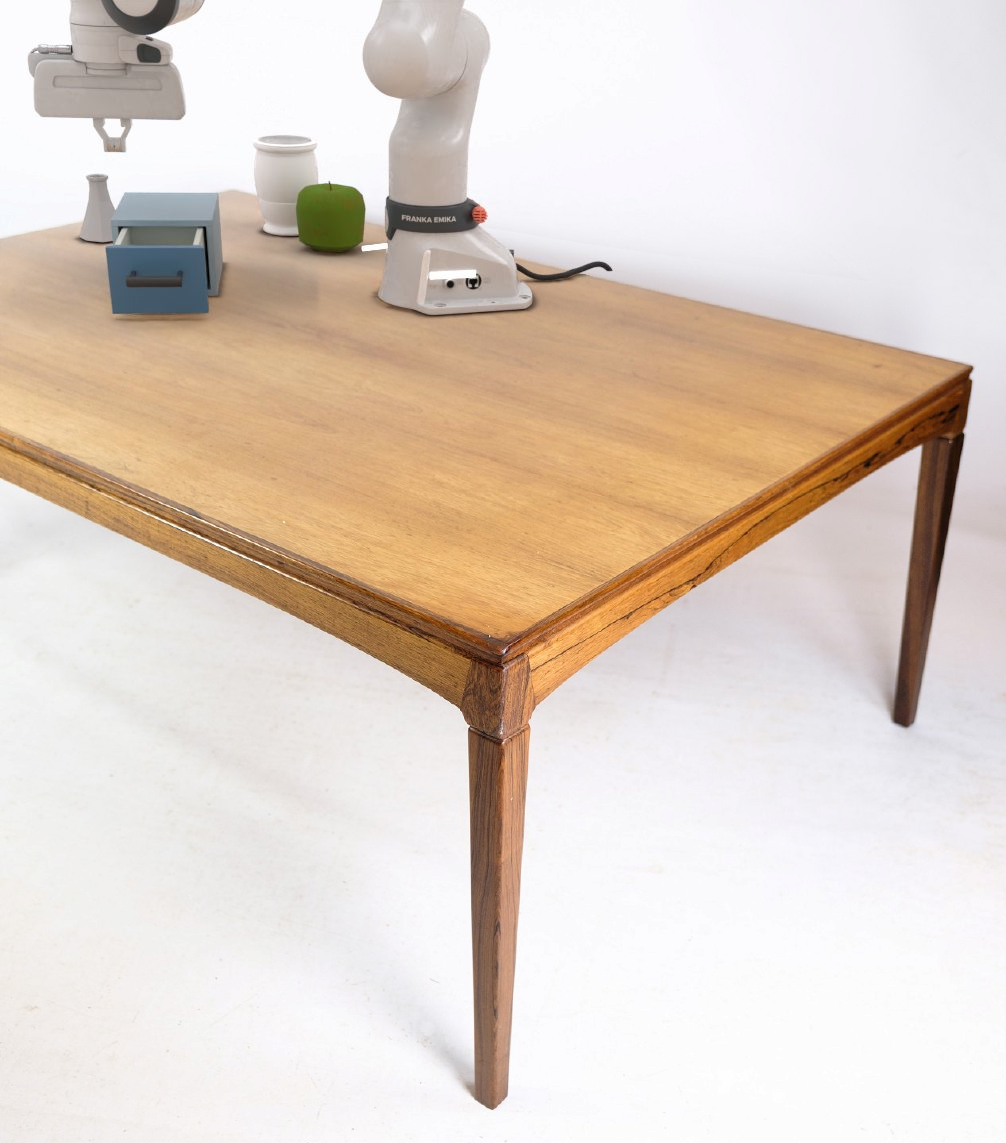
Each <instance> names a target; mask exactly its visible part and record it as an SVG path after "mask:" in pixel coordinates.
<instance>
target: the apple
mask: <svg viewBox="0 0 1006 1143" xmlns="http://www.w3.org/2000/svg"><path fill="white" fill-rule="evenodd" d="M366 210H367V208H366V202H365V200H364V195H363V194H362V192H361V191H360V190H359V189H357V188H356V187H354V186H350V185H346V184H345V185H344V184H339V183H331V181H330V180H328V182H324V183H318V184H315V185H309V186H305V187H304V188H303V189H302V190H301V191H300V192H299V193H298V199H297V204H296V216H297V226H298V234H299V235H298V240H299V242H300V243H302V244H304V245H305V246H307V247H309V248H311V249H313V250H314V251H319V252H325V253H326V252H328V253H341V252H346V251H350V250H352V249H354V248H355V247H357V246H358V245H360V244H362V243H363V242H364V235H365V233H364V232H365V224H366Z"/></svg>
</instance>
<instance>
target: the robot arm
mask: <svg viewBox="0 0 1006 1143" xmlns="http://www.w3.org/2000/svg"><path fill="white" fill-rule="evenodd" d="M465 1H466V0H381V4H380V8H379V11H378V14H377V17H376V19H375V22H374V24H373V26H372V27H371V29H370V31H369V32H368V34H367V35H366V37H365V39H364V43H363V47H362V56H361V57H362V65H363V68H364V72H365V75H366V76H367V78H368V80H369V82H370V83H371V84H372V86H373V87H374V88H375V89H376V90H378V92H380V93H381V94H383V95H385V96H388V97H391V98H395V99H398V100H400V106H399V110H398V114H397V118H396V121H395V124H394V126H393V128H392V131H391V133H390V135H389V139H388V195H387V196H386V197H385V206H384V231H385V232H384V233H385V236H386V238H387V241H386V243H378V244H377V243H376V244H370V245H369V244H368V245H362V246H361V251H362V252H366V251H376V250H383V249H386V253H385V261H384V267H383V273H382V277H381V281H380V286H379V290H378V292H377V297H378V298H379V299H380V300H382V301H383V302H385V303H387V304H389V305H391V306H395V307H399V308H406V309H410V310H414V311H417V312H420V313H422V314H425V315H431V316H437V315H438V316H439V315H453V314H469V313H482V312H484V313H485V312H496V311H511V310H523V309H525V310H526V309H527V308H529V307H530V306H531V305H532V304H533V300H534V299H533V292H532V290H531V287H529V286H528V285H527V283H525V282H524V281H522V280H520V279H519V276H518V275H519V274H518V272H520V273H521V274H523V275H524V276H526V277H528V278H530V279H532V280H536V281H542V282H543V281H547V282H548V281H555V280H561V279H567V278H569V277H572V276H574V275H577V274H582V273H584V272H586V271H589V270H591V269H594V268H601V269H603V270H605V271H606V272H613V271H614V270H613V268H612V267H611V265H609V264H608V263H606V262H604V261H600V260H599V261H592V262H589V263H586V264H584V265H581V266H579V267H575V268H572V269H569V270H566V271H563V272H557V273H551V274H540V273H535V272H533V271H531V270H529V269H527V268H525V267H524V266H522V265H521V264H519V263H517V262H516V260H515V249H508V248H507V247H506V246H505V245H504V244H503V243H501V242H500V241H499V240H498V239H497V238H496V237H494V236H493V235H492V234H491V233H489V232H488V231H487V230H486V229H485V228H483V226H481V225H480V224H484V223H485V222H486V221H487V220H488V212H487V211H486V208H484V207H483V206H481V204H480V203H477V202H476V201H475V200H474V199H471V198H470V197H468V175H469V174H468V173H469V172H468V170H469V146H470V138H471V132H472V131H471V130H472V126H473V120H474V115H475V110H476V105H477V100H478V95H479V90H480V84H481V79H482V76H483V73H484V72H483V71H485V70H484V69H485V67H486V65H487V63H488V60H489V58H490V55H491V39H490V38H491V37H490V34H489V30H488V29H487V26H486V25H485V23H484V21H483V20H482V19H481V18H480V17H479V16H478V15H477V14H475V13H474V12H472V11H471V10H468V9H466V8H464V4H465ZM69 2H70V12H69V17H68V18H69V20H68V21H69V31H70V40H71V44H54V45H50V44H42V43H41V44H37V47H34V48H31V50H30V51H29V52H28V54H27V66H28V72H29V73H30V75H31V77H32V78H33V106H34V110H35V112H36V113H37V115H39V117H41V118H59V119H61V118H62V119H63V118H65V119H66V118H68V119H92V124H93V125H92V126H93V128H94V130H95V131H96V132H97V134H98V135H99V137H100V139H101V140H102V142H103V143H102V144H103V151H104V153H127V137H128V135H129V133H130V131H131V129H132V127H133V120H151V121H152V120H155V121H158V120H159V121H160V120H161V121H181V120H182V119H183V118H184V117H185V115H186V114H187V99H186V94H185V87H184V82H183V80H182V79H183V78H182V75H181V73H180V70H179V69H178V67H177V65H175V63H174V62H172V61H173V59H174V49H173V46H172V45H171V44H170V43H169V42H167V41H164V40H161V39H158V38H155V37H152V36H150V35H154V34H156V33H159V32H161V31H163V29H165V28H167V27H170V26H173V25H177V24H178V23H182V22H184V21H186V20H188V19H190V18H192V17H193V16H194V15H196V14H197V13H198V12H199V11H200V9H202V7H203V5H204V3H205V0H69ZM107 119H108V120H111V119H112V120H120V127H121V128H124V129H123V131H122V134H121V135H120V136H118V137H117V136H115V137H113V136H109V134H108V133H107V131H106V129H105V128H104V126H105V124H106V120H107Z"/></svg>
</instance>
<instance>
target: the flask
mask: <svg viewBox="0 0 1006 1143" xmlns="http://www.w3.org/2000/svg"><path fill="white" fill-rule="evenodd" d="M85 178H86V180H87V181H88V201H87V206H86V209H85V214H84V217H83V221H82V224H81V228H80V231H79V236H78V237H79V238H81V239H83V240H85V241H88V242H95V243H96V242H98V243H107V242H113V239H112V230H111V218H112V216H113V214H114V212H115V210H116V208H115V206H114V203H113V202H112V199H111V196H110V192H109V189H108V180H109V175H107V174H105V173H91V174H87V175H86V176H85Z"/></svg>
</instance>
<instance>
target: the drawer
mask: <svg viewBox="0 0 1006 1143" xmlns="http://www.w3.org/2000/svg"><path fill="white" fill-rule="evenodd" d="M105 257H106V266H107V275H108V284H109V293H110V303H111V312H112V314H113V315H136V314H137V315H142V314H143V315H144V314H145V315H146V314H148V315H151V314H152V315H153V314H154V315H155V314H157V315H158V314H209V312H210V306H209V296H208V291H207V284H208V279H209V273H208V259H207V245H206V231H205V226H123V228H122V230H121V232H120V234H119V236H118V238H117V240H116V243H115V245H114V246H113V245H106V246H105Z"/></svg>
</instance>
